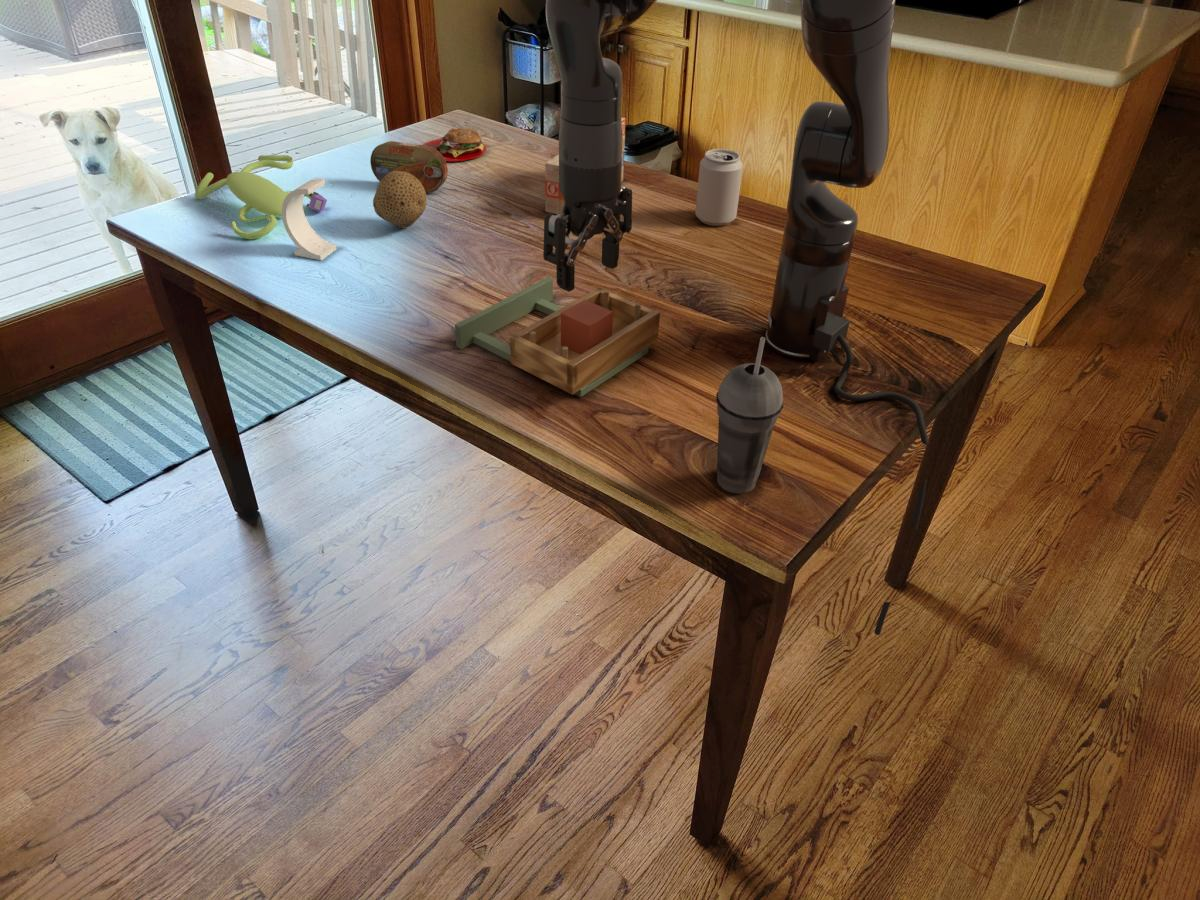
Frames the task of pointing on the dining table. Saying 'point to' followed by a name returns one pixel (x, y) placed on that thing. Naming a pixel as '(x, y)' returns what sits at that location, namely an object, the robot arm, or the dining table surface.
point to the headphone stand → (304, 224)
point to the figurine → (257, 193)
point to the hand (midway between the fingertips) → (588, 277)
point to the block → (585, 326)
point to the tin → (410, 163)
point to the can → (718, 187)
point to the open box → (574, 371)
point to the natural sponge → (400, 199)
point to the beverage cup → (746, 423)
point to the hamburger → (459, 145)
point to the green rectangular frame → (511, 310)
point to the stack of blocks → (552, 192)
